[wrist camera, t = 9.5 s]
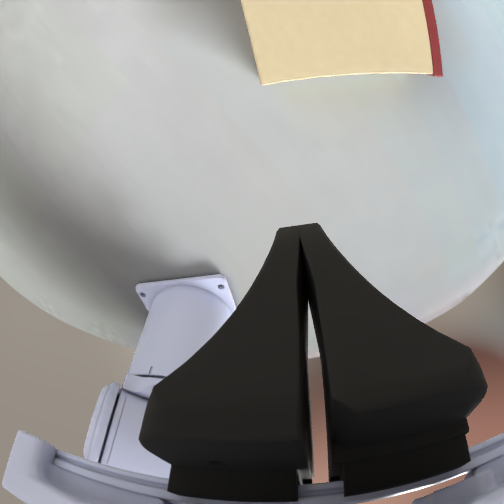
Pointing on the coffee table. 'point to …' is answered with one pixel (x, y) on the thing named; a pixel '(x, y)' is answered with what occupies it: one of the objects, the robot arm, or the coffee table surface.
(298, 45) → the book
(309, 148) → the coffee table surface
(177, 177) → the coffee table surface
